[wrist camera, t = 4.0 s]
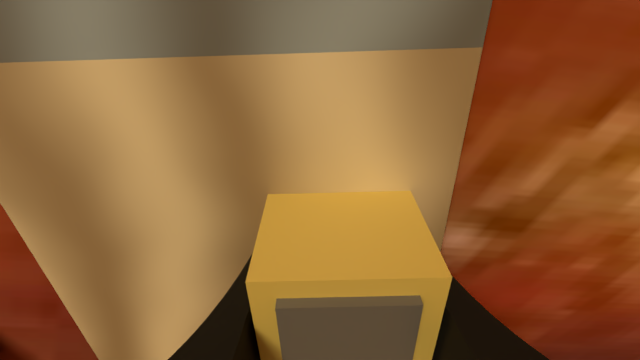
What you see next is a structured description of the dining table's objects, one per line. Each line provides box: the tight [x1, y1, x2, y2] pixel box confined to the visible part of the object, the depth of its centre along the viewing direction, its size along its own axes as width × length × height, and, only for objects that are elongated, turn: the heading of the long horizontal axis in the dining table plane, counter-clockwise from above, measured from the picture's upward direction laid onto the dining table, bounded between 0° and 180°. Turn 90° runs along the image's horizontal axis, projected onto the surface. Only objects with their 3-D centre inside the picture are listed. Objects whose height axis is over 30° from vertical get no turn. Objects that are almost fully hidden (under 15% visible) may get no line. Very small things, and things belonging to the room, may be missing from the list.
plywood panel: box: [0, 0, 492, 360], centre depth 12 cm, size 16×21×1 cm
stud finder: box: [245, 191, 452, 360], centre depth 11 cm, size 5×6×4 cm
